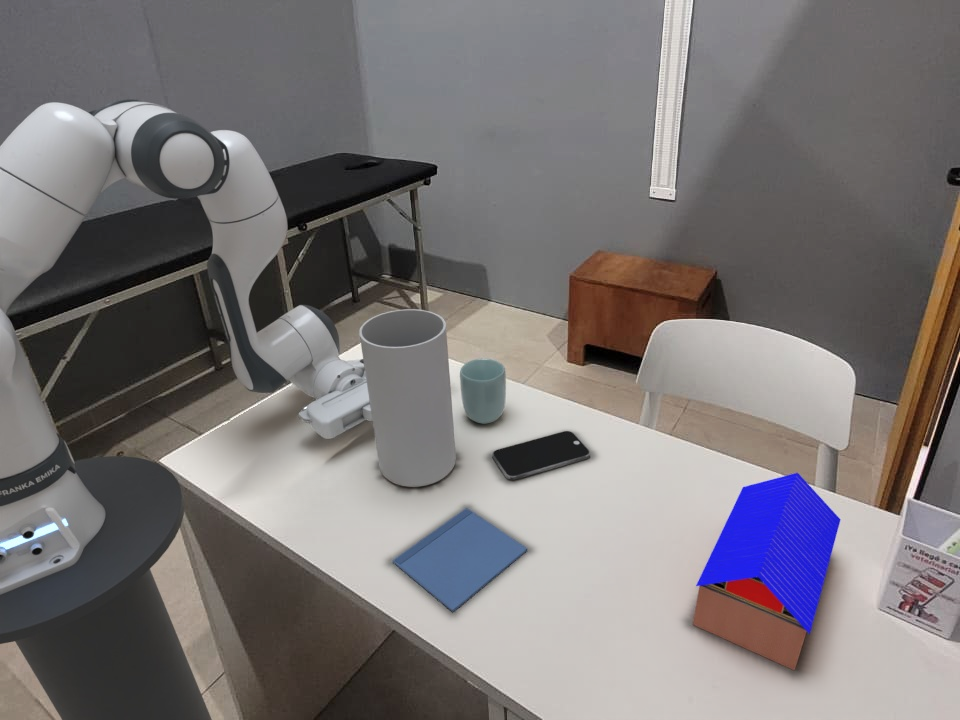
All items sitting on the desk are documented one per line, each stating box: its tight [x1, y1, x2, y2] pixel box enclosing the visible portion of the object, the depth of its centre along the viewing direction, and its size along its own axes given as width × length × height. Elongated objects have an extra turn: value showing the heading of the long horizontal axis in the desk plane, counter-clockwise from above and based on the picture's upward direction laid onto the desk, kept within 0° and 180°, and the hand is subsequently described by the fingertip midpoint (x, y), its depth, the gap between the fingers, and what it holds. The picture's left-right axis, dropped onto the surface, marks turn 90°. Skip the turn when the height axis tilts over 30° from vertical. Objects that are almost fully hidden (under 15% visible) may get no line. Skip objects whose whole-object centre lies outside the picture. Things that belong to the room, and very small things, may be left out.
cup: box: [459, 358, 507, 425], centre depth 115 cm, size 8×8×10 cm
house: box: [692, 472, 841, 671], centre depth 79 cm, size 12×20×12 cm, turn 146°
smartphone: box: [491, 430, 591, 481], centre depth 106 cm, size 8×1×15 cm
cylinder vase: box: [358, 308, 457, 488], centre depth 100 cm, size 12×12×25 cm
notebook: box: [392, 507, 528, 613], centre depth 88 cm, size 14×12×1 cm
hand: (392, 416), depth 107 cm, fingers closed, pressing on cylinder vase
